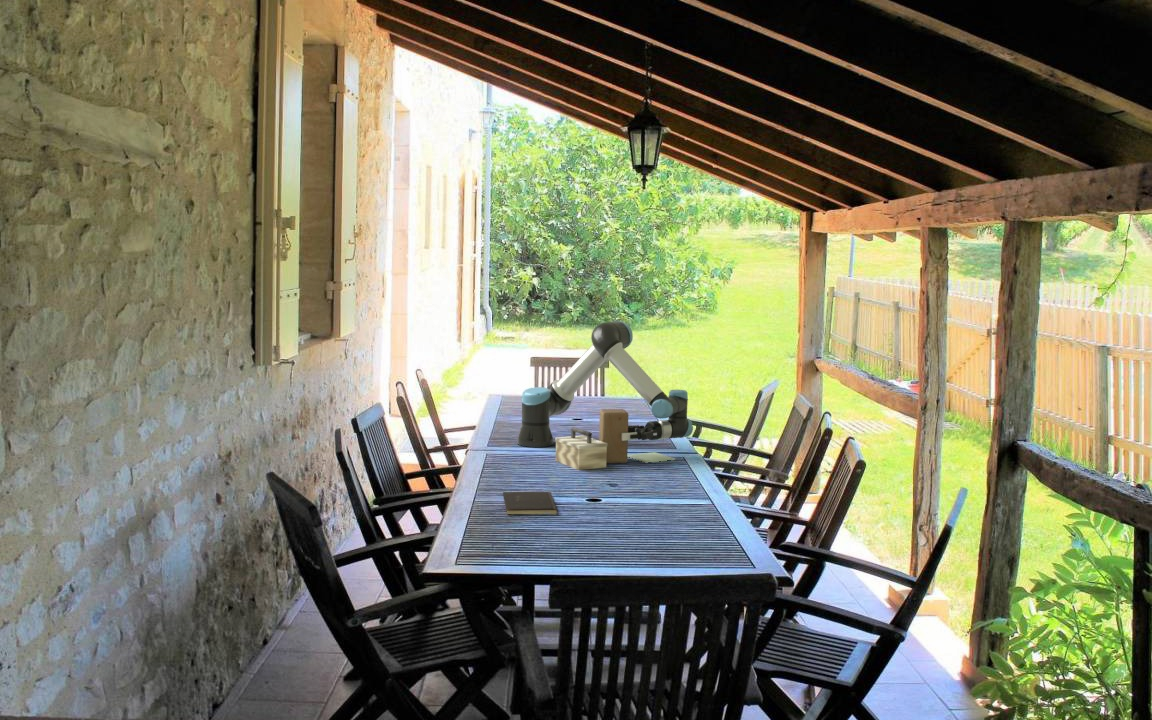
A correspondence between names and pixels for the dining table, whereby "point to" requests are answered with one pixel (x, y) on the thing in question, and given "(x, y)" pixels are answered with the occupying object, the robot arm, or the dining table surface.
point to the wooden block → (614, 434)
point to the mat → (650, 457)
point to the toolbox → (581, 451)
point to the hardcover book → (529, 503)
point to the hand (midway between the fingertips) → (612, 434)
